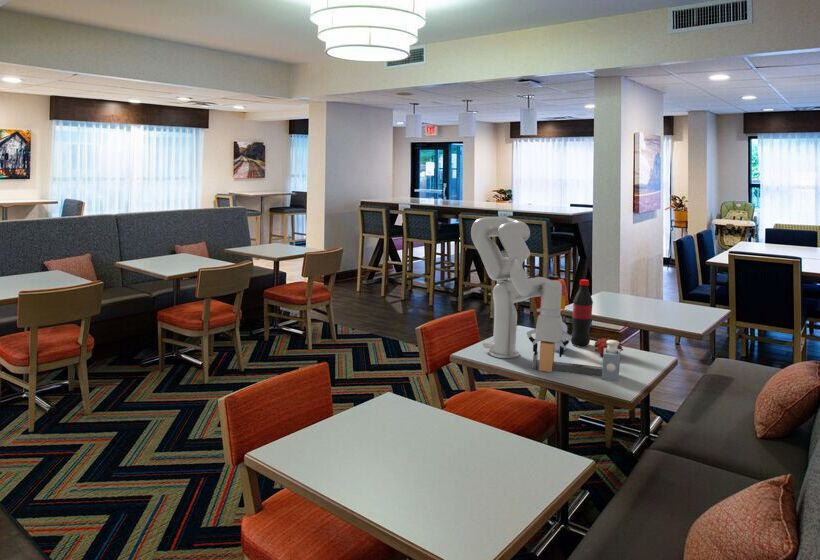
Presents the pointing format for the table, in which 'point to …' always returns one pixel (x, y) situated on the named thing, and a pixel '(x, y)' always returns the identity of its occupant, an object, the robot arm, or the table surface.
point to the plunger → (612, 346)
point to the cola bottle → (582, 315)
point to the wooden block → (546, 356)
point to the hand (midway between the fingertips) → (548, 354)
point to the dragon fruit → (603, 345)
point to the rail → (571, 368)
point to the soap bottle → (557, 345)
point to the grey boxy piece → (611, 365)
